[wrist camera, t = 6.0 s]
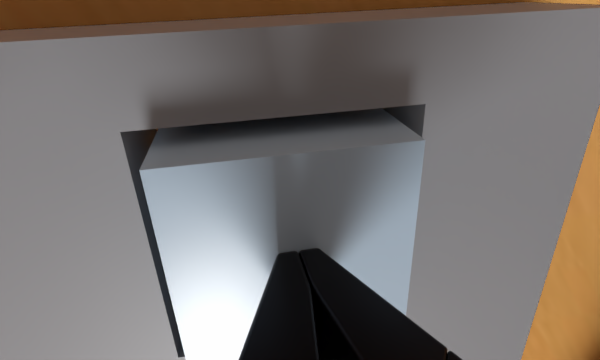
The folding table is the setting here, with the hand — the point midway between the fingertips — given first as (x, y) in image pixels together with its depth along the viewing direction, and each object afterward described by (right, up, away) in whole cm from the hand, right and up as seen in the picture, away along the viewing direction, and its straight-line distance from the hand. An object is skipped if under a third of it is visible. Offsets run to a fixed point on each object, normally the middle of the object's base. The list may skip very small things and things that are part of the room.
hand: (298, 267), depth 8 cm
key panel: (-1, -3, +6) cm, 7 cm away
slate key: (0, +1, +2) cm, 2 cm away
